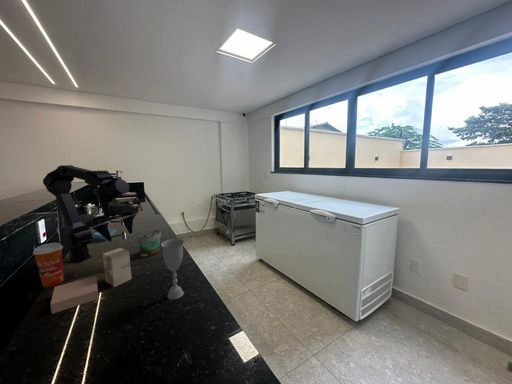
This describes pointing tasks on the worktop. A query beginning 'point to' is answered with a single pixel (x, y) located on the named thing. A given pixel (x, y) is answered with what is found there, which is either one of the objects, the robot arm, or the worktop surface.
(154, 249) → the food container
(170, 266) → the chalice
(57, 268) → the paper cup
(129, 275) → the pillar
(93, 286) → the plinth
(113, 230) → the soap dispenser
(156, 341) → the worktop surface
